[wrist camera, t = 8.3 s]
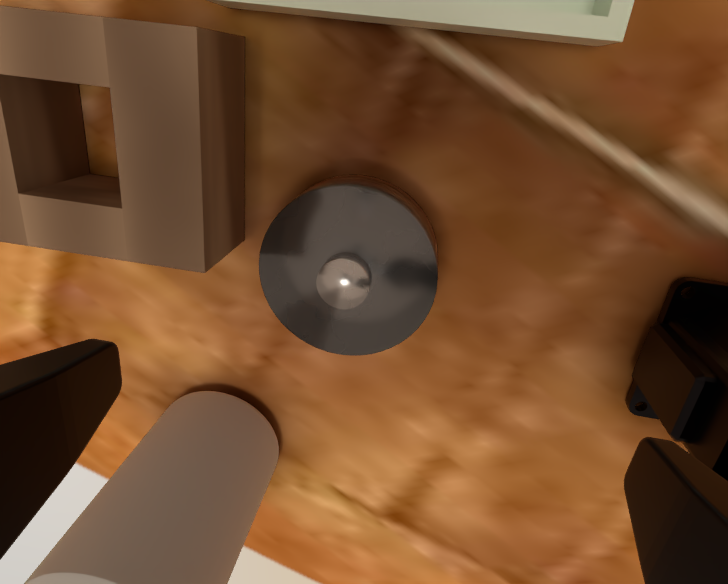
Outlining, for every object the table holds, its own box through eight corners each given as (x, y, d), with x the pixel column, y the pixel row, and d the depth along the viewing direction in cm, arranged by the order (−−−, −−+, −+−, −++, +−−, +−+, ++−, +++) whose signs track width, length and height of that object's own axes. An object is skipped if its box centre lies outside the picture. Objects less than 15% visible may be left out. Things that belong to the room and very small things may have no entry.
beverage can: (148, 394, 26) (-62, 623, 15) (256, 371, 24) (108, 608, 14) (199, 485, 28) (48, 742, 17) (301, 469, 27) (205, 741, 16)
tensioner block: (244, 37, 18) (196, 26, 15) (244, 240, 22) (205, 273, 18) (-2, 9, 19) (-106, -7, 16) (34, 209, 22) (-44, 234, 19)
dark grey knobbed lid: (451, 186, 19) (452, 206, 17) (424, 339, 22) (421, 378, 19) (279, 164, 20) (252, 178, 17) (275, 315, 23) (251, 350, 20)
